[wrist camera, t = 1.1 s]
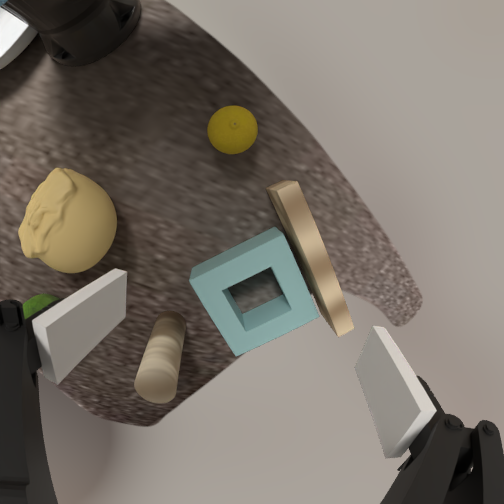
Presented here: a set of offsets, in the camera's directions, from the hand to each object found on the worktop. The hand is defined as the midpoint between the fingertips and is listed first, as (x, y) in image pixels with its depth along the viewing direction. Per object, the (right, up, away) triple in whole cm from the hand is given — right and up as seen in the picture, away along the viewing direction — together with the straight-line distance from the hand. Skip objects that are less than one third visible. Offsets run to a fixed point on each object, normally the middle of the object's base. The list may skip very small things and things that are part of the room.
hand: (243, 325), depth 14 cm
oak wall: (+7, +4, +25) cm, 26 cm away
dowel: (-11, -7, +25) cm, 28 cm away
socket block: (+1, -1, +25) cm, 25 cm away
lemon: (-2, +18, +20) cm, 27 cm away
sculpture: (-22, +8, +20) cm, 31 cm away
